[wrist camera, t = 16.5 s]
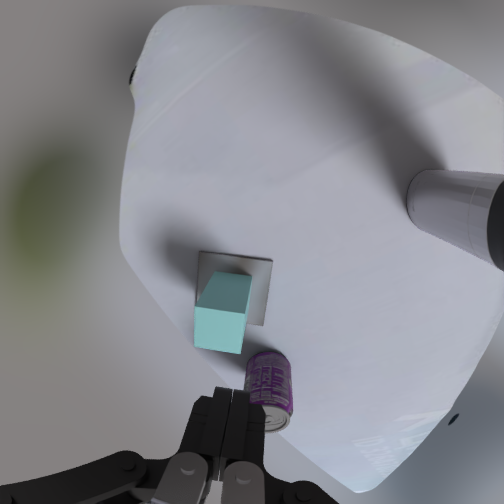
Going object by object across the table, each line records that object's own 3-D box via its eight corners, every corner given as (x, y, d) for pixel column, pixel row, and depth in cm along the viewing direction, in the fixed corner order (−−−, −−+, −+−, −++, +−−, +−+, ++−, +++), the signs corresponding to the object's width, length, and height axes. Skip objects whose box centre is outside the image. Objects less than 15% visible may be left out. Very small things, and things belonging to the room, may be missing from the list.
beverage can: (257, 385, 43) (252, 438, 32) (239, 356, 42) (229, 410, 30) (296, 374, 42) (300, 428, 31) (281, 343, 41) (282, 398, 29)
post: (272, 260, 37) (272, 289, 28) (263, 324, 40) (260, 364, 31) (200, 251, 37) (178, 275, 28) (197, 314, 40) (178, 350, 31)
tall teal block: (252, 276, 37) (244, 313, 27) (248, 309, 39) (240, 354, 28) (214, 271, 37) (194, 306, 27) (212, 304, 39) (194, 346, 29)
